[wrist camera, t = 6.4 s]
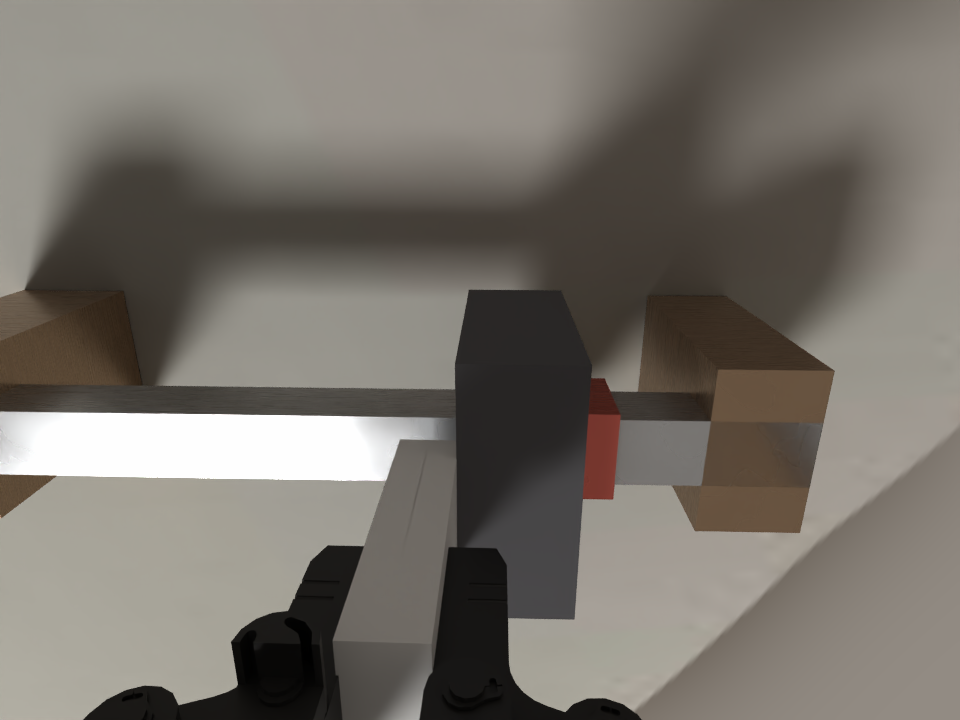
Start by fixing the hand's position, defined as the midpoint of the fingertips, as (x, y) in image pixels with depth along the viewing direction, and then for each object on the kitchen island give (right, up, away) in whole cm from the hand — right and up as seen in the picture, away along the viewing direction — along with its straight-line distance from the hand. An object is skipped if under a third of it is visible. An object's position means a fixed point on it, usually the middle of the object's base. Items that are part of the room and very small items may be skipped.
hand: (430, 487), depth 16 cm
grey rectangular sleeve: (+2, +2, +6) cm, 7 cm away
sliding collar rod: (-3, +4, +9) cm, 10 cm away
